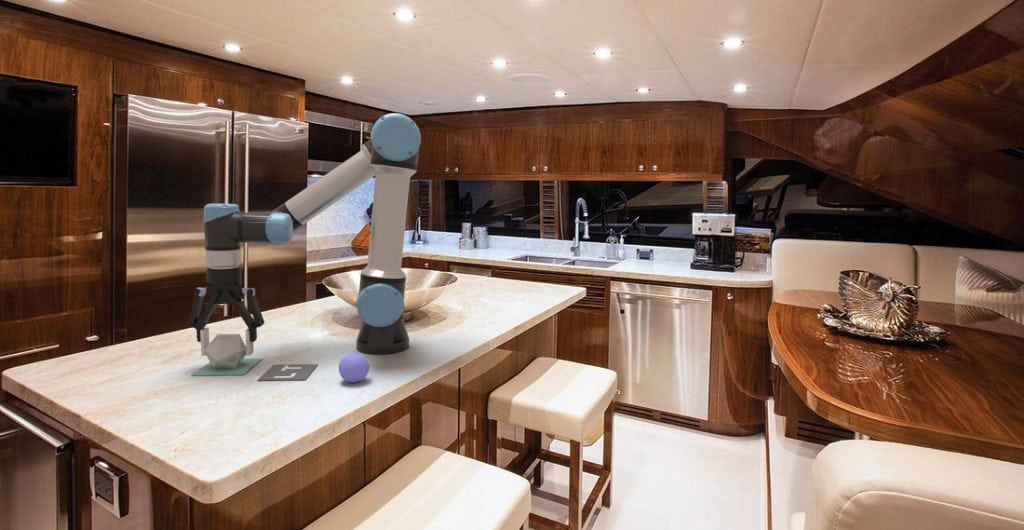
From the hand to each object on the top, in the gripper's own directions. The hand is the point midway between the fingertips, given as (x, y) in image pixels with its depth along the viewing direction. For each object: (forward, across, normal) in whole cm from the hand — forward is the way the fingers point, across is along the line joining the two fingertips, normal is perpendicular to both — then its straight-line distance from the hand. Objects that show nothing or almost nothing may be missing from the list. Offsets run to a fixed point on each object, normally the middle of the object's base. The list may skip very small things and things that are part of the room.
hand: (228, 354), depth 127 cm
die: (+3, 0, 0) cm, 3 cm away
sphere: (+4, -33, +11) cm, 35 cm away
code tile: (+3, -16, +4) cm, 17 cm away
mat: (+3, 0, 0) cm, 3 cm away
